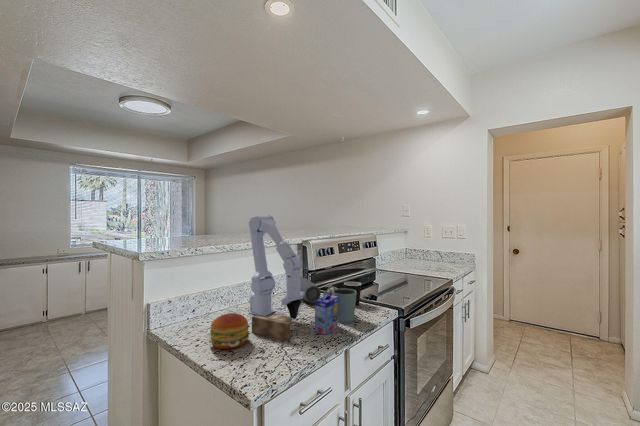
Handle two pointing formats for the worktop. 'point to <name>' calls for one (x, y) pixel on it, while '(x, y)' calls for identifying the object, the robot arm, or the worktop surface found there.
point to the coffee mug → (354, 286)
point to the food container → (329, 290)
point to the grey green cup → (345, 304)
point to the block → (283, 318)
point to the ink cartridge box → (326, 314)
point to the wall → (271, 327)
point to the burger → (229, 331)
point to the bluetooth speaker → (309, 290)
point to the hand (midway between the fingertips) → (293, 318)
